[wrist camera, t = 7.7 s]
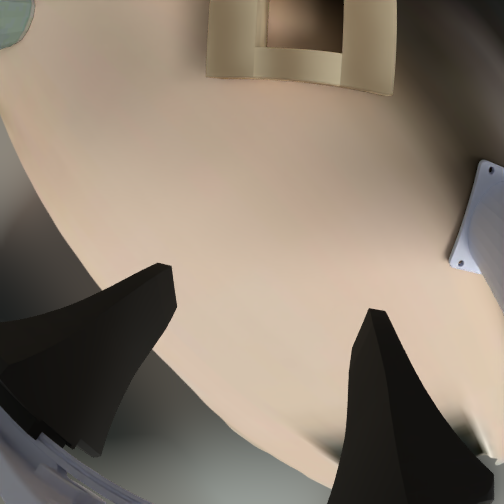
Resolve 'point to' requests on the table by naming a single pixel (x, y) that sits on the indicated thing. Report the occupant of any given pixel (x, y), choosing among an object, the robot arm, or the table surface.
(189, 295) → the table surface
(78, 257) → the table surface
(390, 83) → the socket block
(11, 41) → the disposable coffee cup
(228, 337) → the table surface
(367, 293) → the table surface
